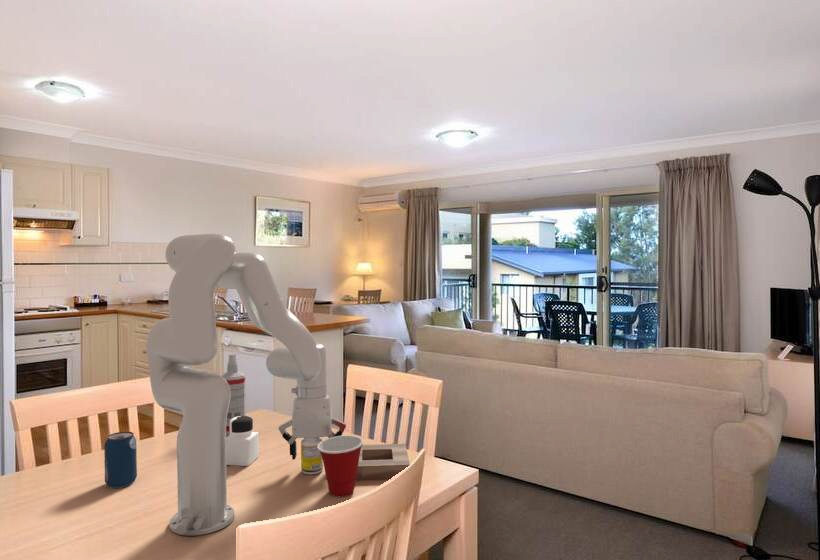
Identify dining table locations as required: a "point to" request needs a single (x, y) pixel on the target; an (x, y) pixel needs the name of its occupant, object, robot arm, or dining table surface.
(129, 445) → the soda can
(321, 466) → the supplement bottle
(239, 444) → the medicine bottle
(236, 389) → the spray bottle
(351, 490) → the plastic cup
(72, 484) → the dining table surface
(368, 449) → the square bottle holder
